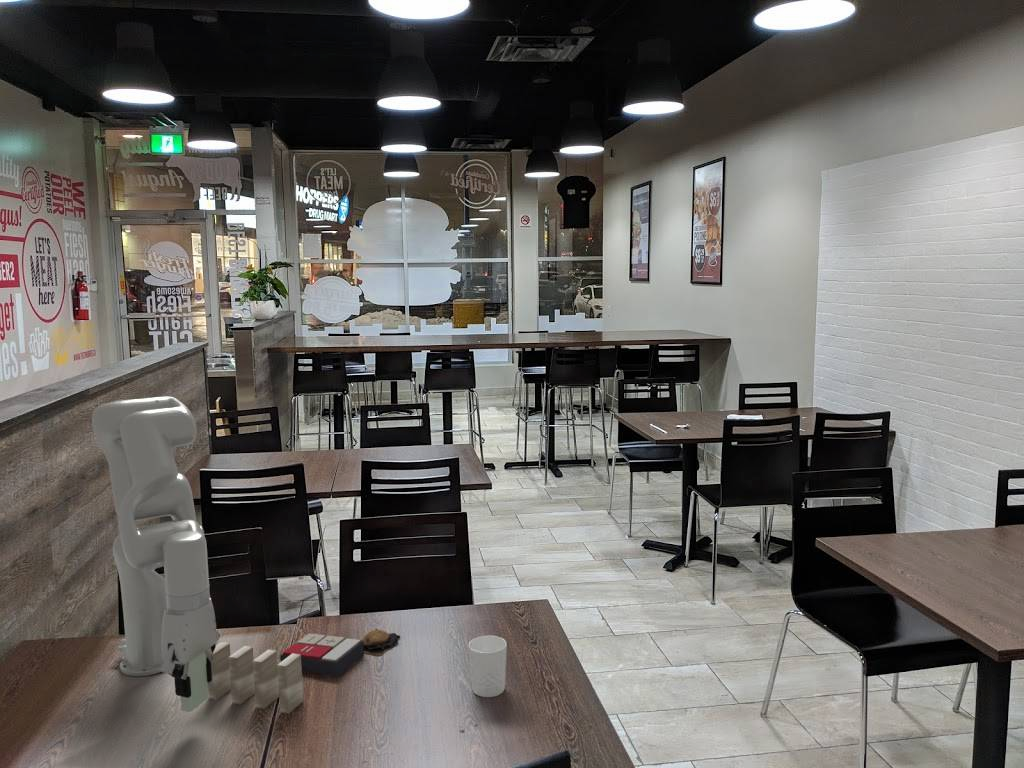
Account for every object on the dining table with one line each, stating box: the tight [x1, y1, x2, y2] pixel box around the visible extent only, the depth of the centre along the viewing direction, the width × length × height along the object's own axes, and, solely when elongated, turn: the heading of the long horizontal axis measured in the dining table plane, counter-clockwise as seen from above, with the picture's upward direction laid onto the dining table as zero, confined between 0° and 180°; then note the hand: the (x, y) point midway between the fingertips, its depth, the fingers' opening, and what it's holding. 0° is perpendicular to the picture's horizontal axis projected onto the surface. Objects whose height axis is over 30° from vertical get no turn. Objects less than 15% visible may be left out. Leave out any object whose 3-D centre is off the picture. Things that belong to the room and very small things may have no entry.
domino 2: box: [208, 641, 232, 701], centre depth 162 cm, size 2×5×10 cm, turn 161°
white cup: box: [468, 635, 508, 698], centre depth 161 cm, size 8×8×10 cm
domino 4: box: [253, 649, 279, 710], centre depth 158 cm, size 2×5×10 cm, turn 161°
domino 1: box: [179, 651, 209, 713], centre depth 148 cm, size 2×5×10 cm, turn 161°
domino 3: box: [229, 645, 255, 705], centre depth 160 cm, size 2×5×10 cm, turn 161°
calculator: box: [280, 633, 365, 678], centre depth 176 cm, size 11×4×15 cm
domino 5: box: [277, 653, 304, 715], centre depth 156 cm, size 2×5×10 cm, turn 161°
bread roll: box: [359, 628, 402, 657], centre depth 183 cm, size 11×8×4 cm
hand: (194, 687), depth 148 cm, fingers closed on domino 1, 4 cm apart
